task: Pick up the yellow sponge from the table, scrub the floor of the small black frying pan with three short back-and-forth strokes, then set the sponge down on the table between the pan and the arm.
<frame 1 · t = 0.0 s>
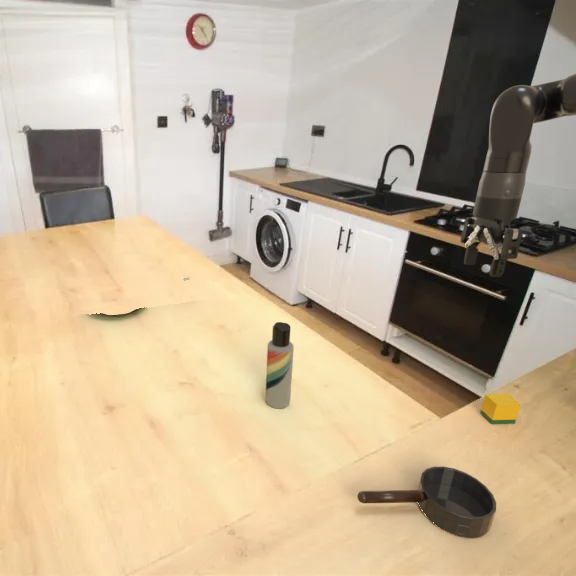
hand: (481, 270, 89), 30 cm above the table, tool pointing down, fingers open, 8 cm apart
lotion bottle: (277, 402, 96), on the table
pan: (452, 509, 67), on the table
sponge: (497, 418, 88), on the table
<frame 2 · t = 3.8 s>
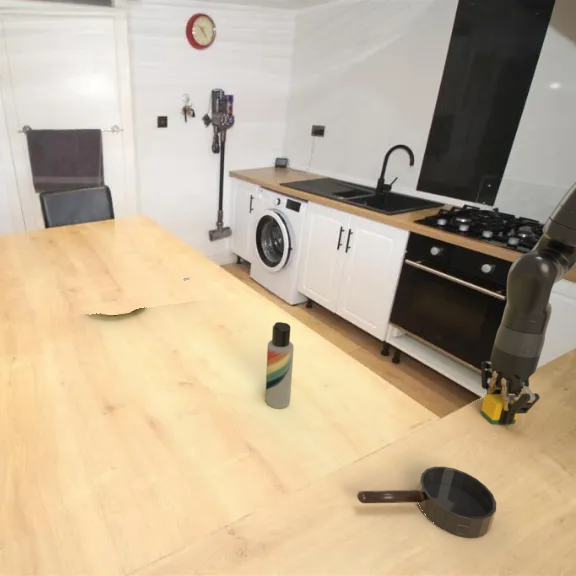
hand: (497, 416, 88), 0 cm above the table, tool pointing down, fingers closed on sponge, 3 cm apart
sponge: (497, 418, 88), on the table, touching gripper
everything else where it was.
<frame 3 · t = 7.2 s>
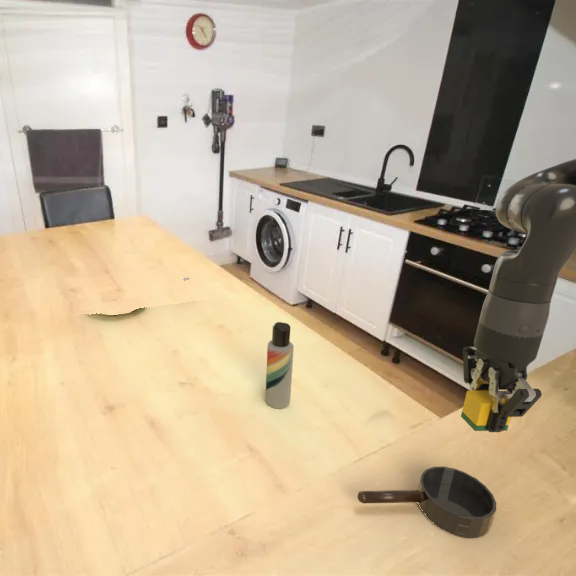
hand: (484, 421, 65), 15 cm above the table, tool pointing down, fingers closed on sponge, 3 cm apart
sponge: (483, 423, 65), point 15 cm above the table, touching gripper
everything else where it was.
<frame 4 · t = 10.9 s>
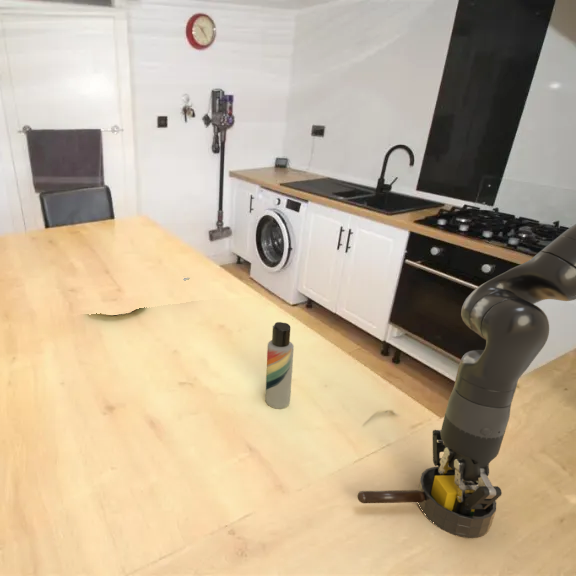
hand: (451, 505, 67), 1 cm above the table, tool pointing down, fingers closed on sponge, 3 cm apart
sponge: (450, 507, 67), point 1 cm above the table, touching gripper
everything else where it was.
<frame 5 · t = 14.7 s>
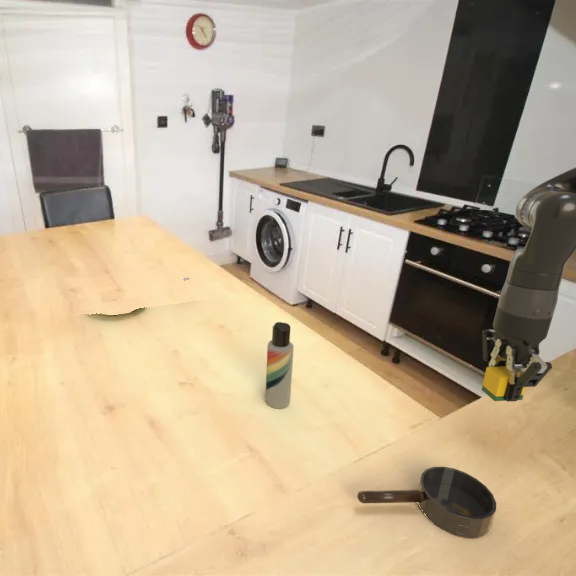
hand: (501, 392, 76), 13 cm above the table, tool pointing down, fingers closed on sponge, 3 cm apart
sponge: (501, 394, 76), point 12 cm above the table, touching gripper
everything else where it was.
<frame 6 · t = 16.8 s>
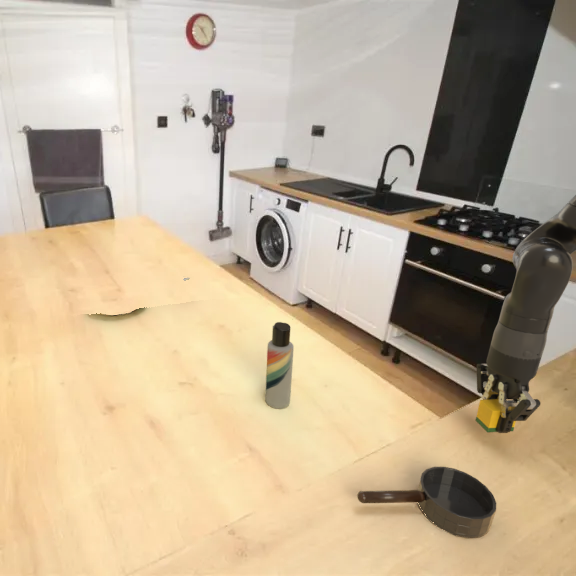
hand: (494, 424, 81), 4 cm above the table, tool pointing down, fingers closed on sponge, 3 cm apart
sponge: (493, 425, 81), point 4 cm above the table, touching gripper
everything else where it was.
when the fingers open (0 cm above the table, at t = 18.0 s): sponge stays where it is, on the table.
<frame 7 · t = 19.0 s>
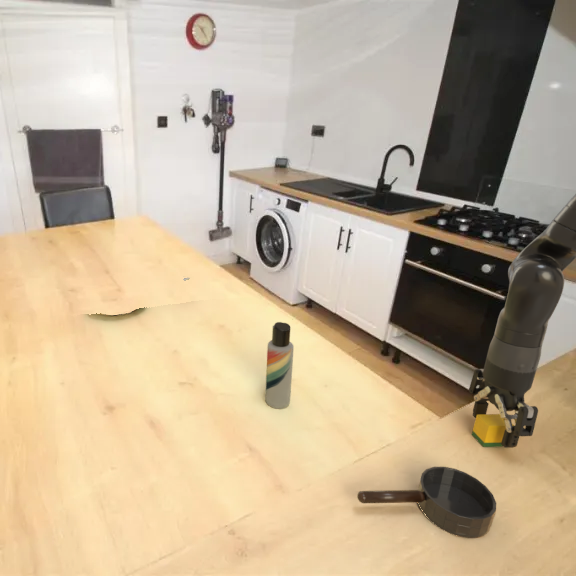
hand: (492, 431, 82), 2 cm above the table, tool pointing down, fingers open, 8 cm apart
sponge: (489, 440, 82), on the table
everything else where it was.
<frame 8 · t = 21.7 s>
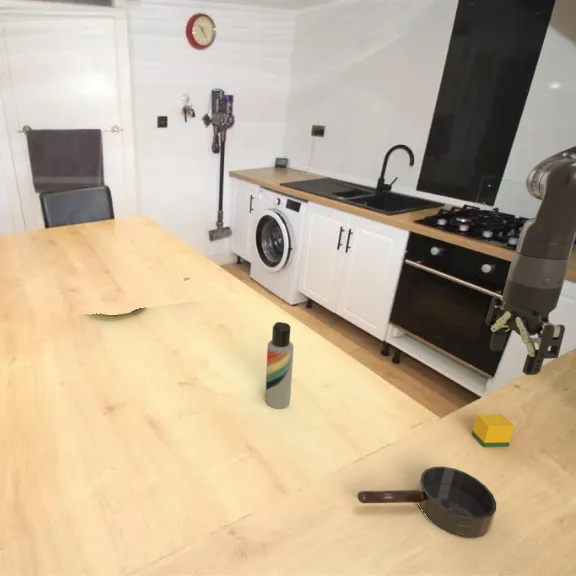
hand: (511, 361, 76), 18 cm above the table, tool pointing down, fingers open, 8 cm apart
nothing on the table moved.
at the end: sponge 0.2 cm from the target spot on the table beside the pan, on the table; sponge tilted 0°; the gripper is holding nothing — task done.
